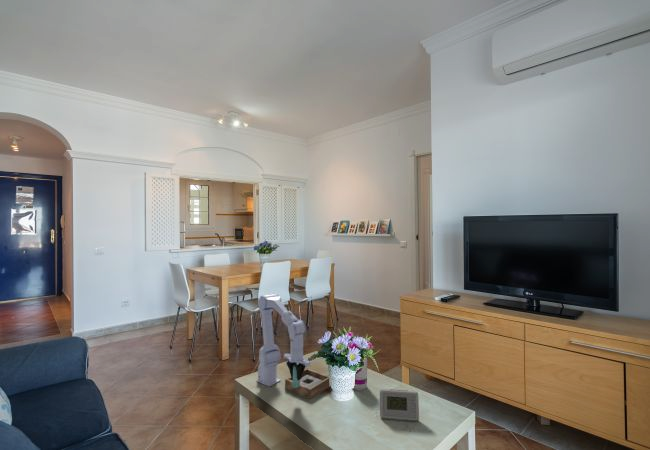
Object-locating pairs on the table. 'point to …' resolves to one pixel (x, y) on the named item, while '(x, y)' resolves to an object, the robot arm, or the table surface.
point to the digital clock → (399, 404)
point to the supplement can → (361, 377)
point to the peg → (295, 378)
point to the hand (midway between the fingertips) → (296, 378)
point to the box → (309, 383)
